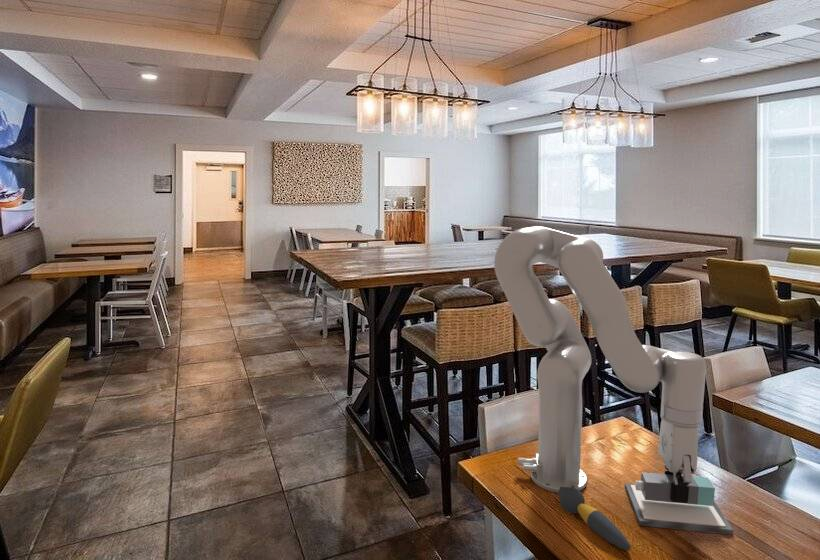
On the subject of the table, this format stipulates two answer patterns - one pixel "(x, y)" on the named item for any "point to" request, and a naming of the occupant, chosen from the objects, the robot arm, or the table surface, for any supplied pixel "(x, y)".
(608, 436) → the table surface
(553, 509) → the table surface
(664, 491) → the teal-tipped grey bar
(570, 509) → the paintbrush
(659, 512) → the drawing board
